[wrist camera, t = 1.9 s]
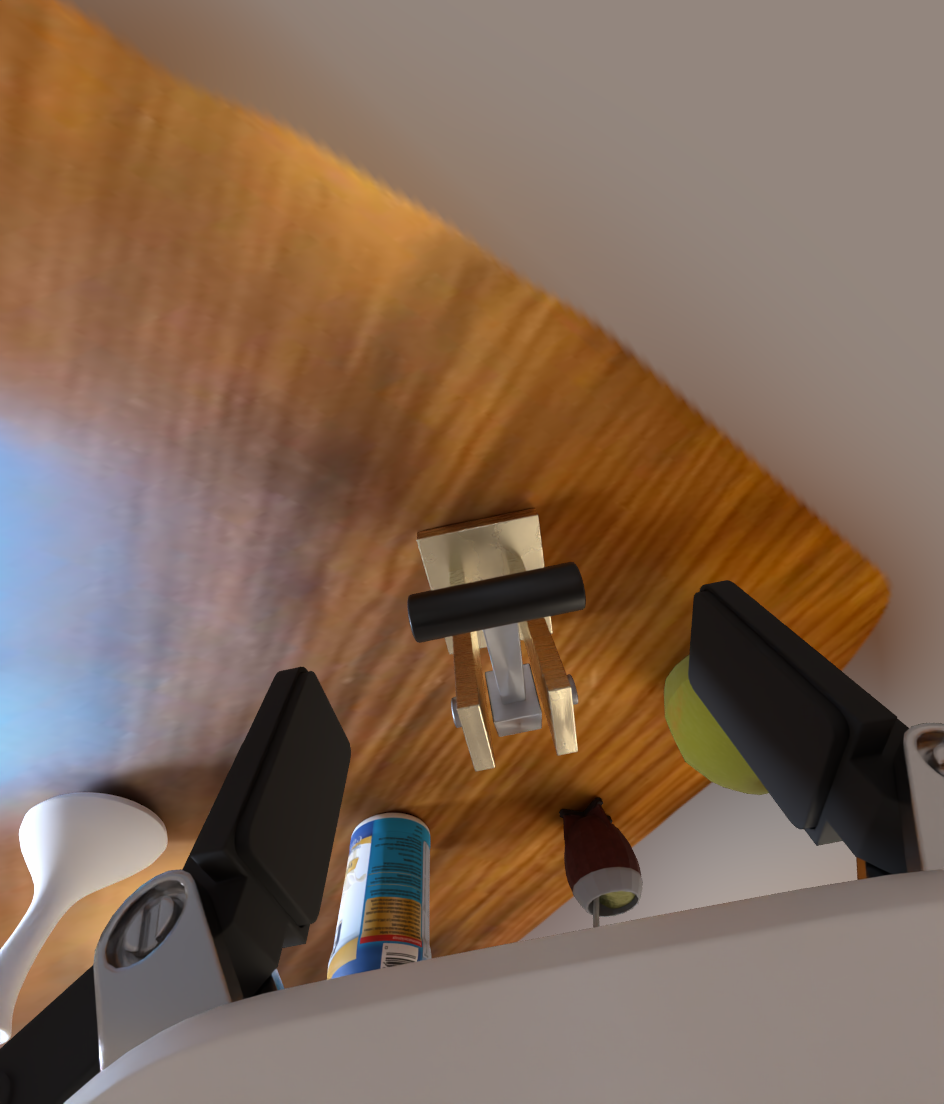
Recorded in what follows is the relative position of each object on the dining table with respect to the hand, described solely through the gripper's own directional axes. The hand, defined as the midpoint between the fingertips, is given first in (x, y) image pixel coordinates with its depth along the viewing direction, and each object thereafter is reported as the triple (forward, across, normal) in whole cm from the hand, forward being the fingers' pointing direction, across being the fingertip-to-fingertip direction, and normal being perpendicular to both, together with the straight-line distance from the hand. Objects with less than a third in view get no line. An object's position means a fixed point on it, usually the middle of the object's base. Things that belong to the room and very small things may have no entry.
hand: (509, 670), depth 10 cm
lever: (+6, 0, +4) cm, 7 cm away
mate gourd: (+18, -5, +41) cm, 45 cm away
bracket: (+18, 0, +8) cm, 20 cm away
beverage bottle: (+18, +15, +37) cm, 44 cm away
